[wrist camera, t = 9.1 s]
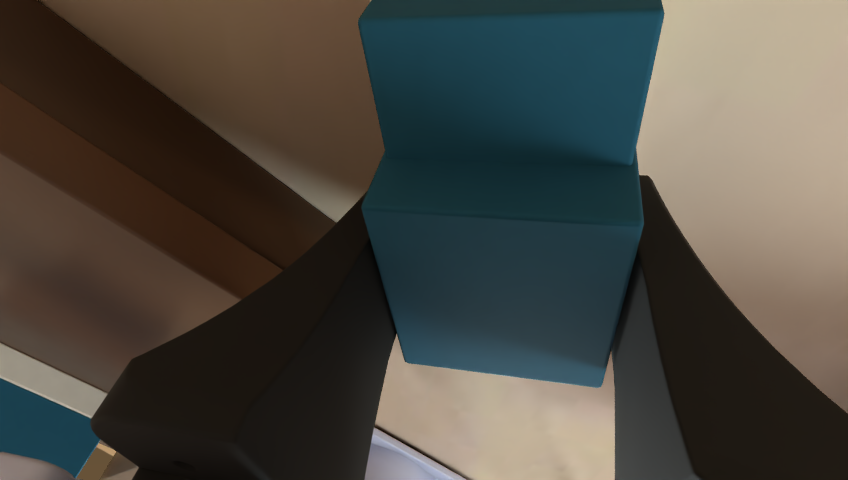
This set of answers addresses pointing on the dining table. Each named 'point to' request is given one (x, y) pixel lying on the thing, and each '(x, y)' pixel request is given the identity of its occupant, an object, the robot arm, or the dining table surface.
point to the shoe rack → (120, 209)
